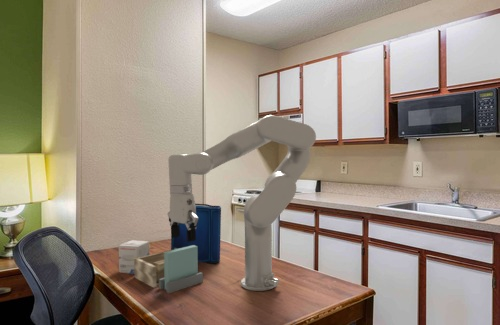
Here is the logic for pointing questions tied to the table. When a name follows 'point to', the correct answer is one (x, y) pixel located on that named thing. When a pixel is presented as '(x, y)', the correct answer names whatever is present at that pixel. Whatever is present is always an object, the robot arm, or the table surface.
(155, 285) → the bin
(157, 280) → the offcut low
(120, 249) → the ink box
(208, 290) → the table surface
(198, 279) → the stand
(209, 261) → the book
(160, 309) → the table surface
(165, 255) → the sheet
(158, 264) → the offcut top
